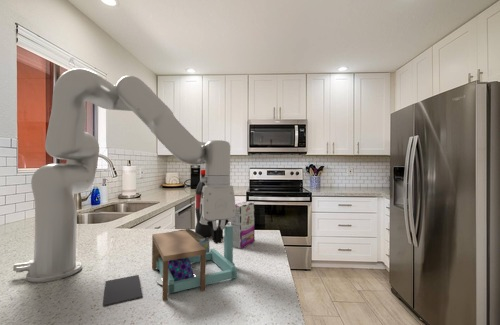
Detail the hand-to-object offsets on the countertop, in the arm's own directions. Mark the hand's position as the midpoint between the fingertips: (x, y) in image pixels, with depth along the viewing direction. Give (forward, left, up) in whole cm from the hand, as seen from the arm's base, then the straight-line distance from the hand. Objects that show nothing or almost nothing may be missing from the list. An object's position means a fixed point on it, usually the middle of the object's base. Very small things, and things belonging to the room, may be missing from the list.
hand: (217, 242), depth 73 cm
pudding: (-11, 0, -9) cm, 14 cm away
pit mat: (-25, 0, -8) cm, 26 cm away
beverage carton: (-3, +20, -9) cm, 22 cm away
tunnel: (-12, 0, -8) cm, 15 cm away
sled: (-6, 0, -8) cm, 10 cm away
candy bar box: (+18, +18, -8) cm, 27 cm away
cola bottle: (+8, +36, -8) cm, 38 cm away
